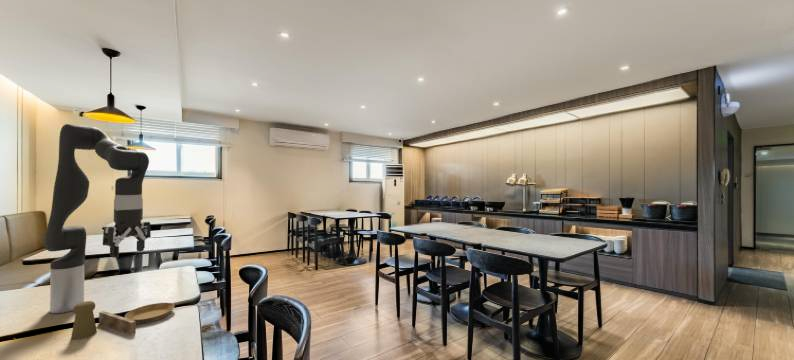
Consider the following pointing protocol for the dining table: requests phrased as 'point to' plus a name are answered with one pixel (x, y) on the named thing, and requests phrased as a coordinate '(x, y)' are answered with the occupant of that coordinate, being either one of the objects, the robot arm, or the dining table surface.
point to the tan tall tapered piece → (84, 320)
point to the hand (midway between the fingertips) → (128, 254)
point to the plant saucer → (150, 312)
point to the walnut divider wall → (117, 322)
